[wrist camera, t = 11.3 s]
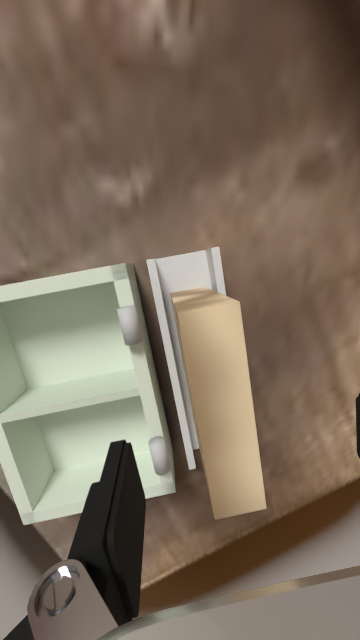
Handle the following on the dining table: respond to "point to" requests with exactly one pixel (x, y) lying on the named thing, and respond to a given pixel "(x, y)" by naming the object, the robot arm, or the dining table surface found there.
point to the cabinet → (91, 380)
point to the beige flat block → (220, 398)
